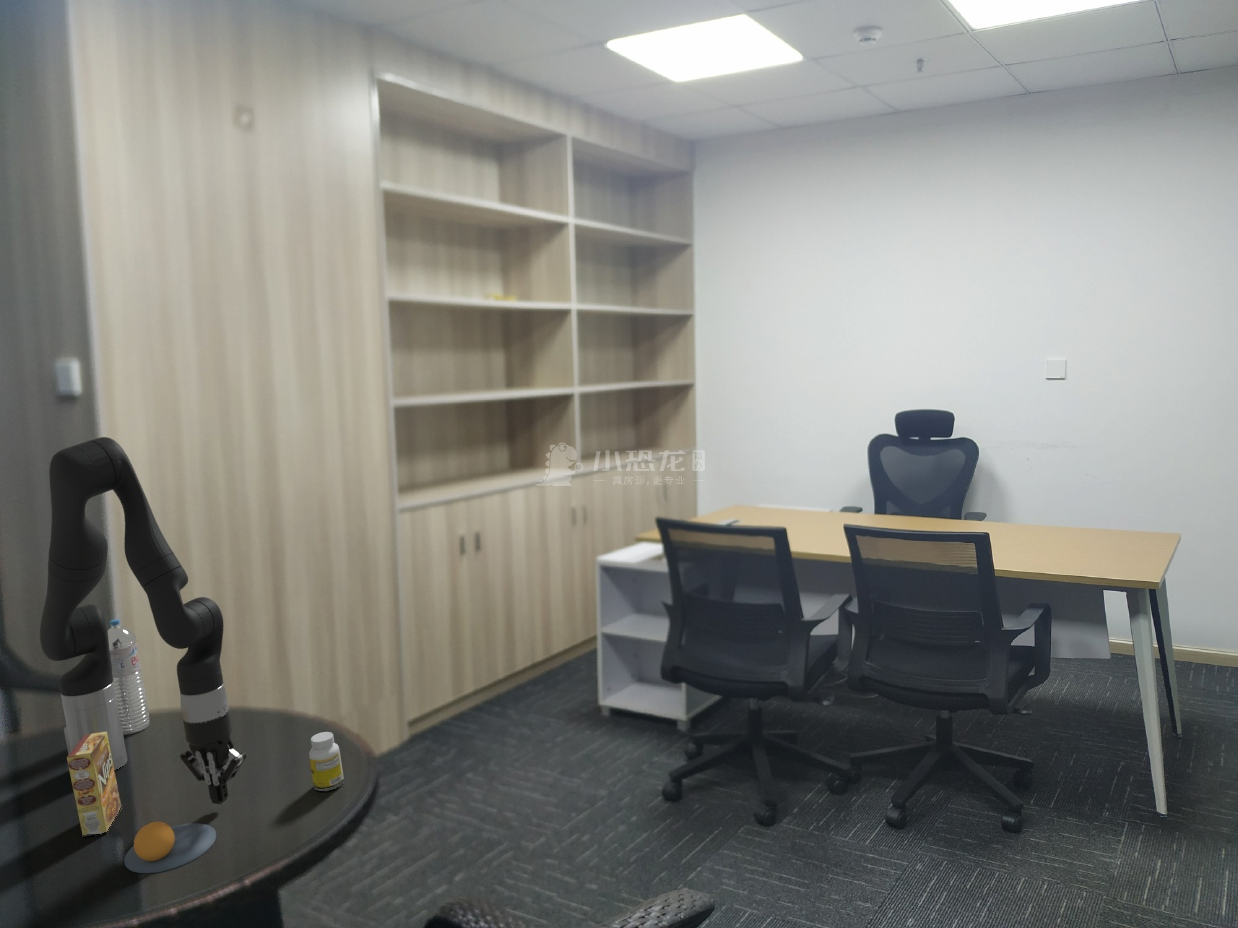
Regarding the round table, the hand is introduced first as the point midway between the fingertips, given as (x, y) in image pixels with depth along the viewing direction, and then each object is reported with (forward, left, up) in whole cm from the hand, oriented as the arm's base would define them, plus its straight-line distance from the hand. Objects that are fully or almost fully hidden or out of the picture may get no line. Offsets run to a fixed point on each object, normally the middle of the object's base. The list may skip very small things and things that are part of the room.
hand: (220, 801), depth 165 cm
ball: (0, -15, +2) cm, 15 cm away
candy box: (-19, -8, -2) cm, 21 cm away
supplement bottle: (+15, +11, -2) cm, 19 cm away
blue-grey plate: (0, -12, -2) cm, 12 cm away
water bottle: (-45, +25, -2) cm, 52 cm away
